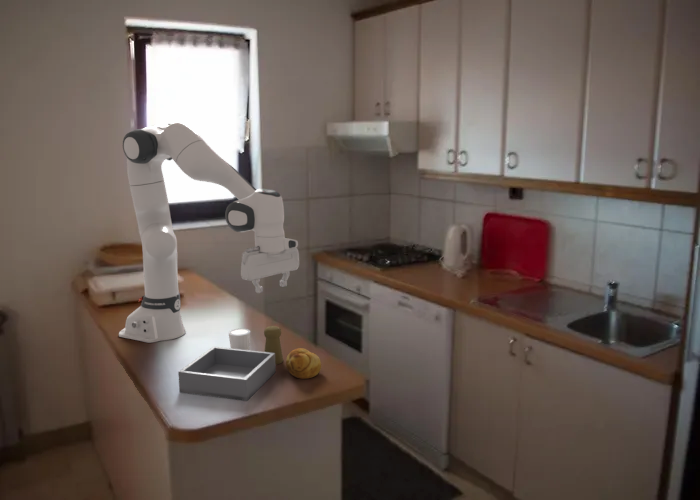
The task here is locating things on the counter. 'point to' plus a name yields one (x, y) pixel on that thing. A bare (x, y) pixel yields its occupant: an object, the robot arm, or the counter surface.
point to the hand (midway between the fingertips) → (271, 289)
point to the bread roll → (303, 363)
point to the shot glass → (239, 339)
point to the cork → (273, 342)
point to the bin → (227, 373)
